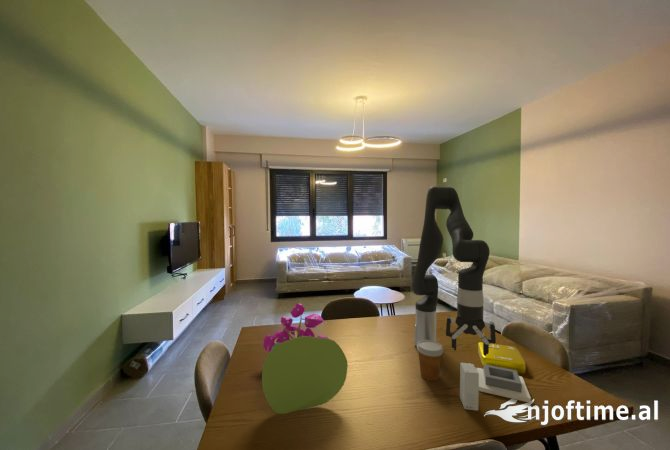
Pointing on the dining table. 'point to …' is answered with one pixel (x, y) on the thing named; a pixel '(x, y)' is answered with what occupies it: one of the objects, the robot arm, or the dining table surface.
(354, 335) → the dining table surface
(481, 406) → the dining table surface
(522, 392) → the board
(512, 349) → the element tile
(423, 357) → the disposable coffee cup
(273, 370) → the potted pink orchid
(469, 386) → the skincare box
